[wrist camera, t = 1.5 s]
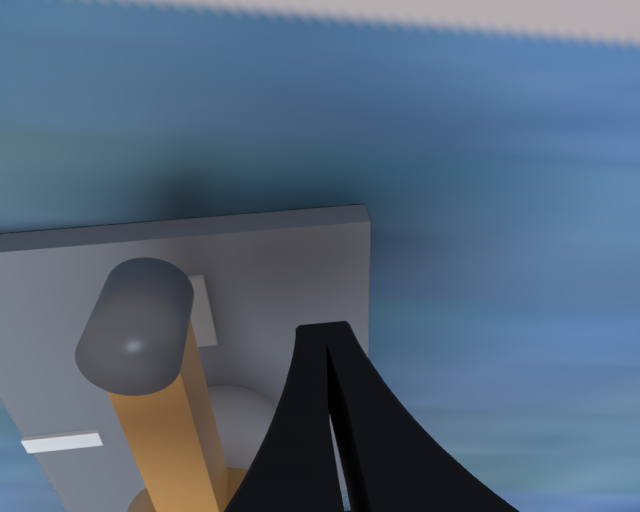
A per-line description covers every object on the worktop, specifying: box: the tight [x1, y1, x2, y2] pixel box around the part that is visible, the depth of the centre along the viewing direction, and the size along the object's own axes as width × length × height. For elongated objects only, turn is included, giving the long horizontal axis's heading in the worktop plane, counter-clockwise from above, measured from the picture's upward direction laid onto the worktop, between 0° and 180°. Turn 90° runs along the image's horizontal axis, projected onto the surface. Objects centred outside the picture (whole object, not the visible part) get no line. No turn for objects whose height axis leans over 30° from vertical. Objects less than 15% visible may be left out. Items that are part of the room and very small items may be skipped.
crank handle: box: [75, 257, 248, 512], centre depth 14 cm, size 14×6×3 cm, turn 2°
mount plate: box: [0, 204, 371, 512], centre depth 19 cm, size 15×14×5 cm
